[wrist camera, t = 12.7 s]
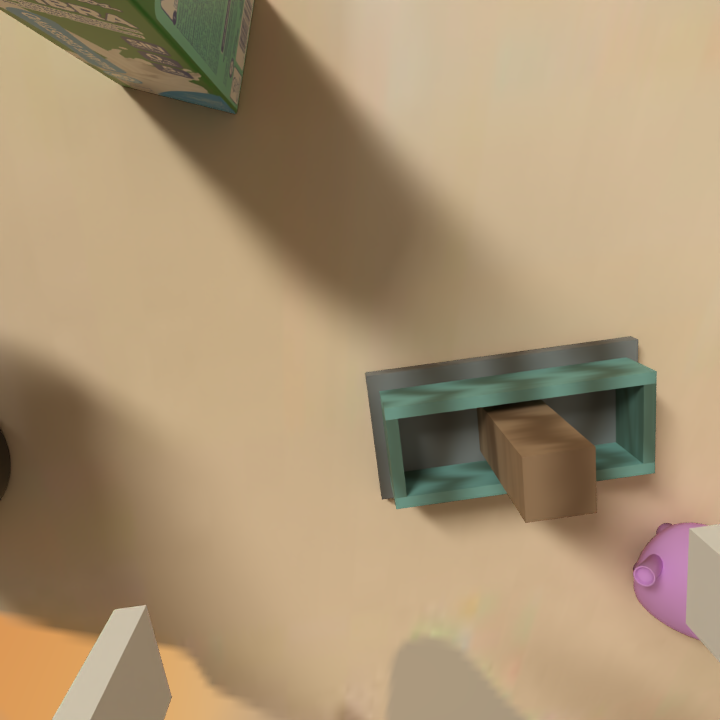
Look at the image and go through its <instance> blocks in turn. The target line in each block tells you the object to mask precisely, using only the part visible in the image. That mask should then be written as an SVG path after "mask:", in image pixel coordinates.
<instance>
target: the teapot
mask: <svg viewBox="0 0 720 720" xmlns="http://www.w3.org/2000/svg"><path fill="white" fill-rule="evenodd" d="M703 526H708V525H704V524H698V523H680V524H674V525H672V524H670V523H664V524H662V525H660V526H659V527H658V529H657V531H656V534H657V535H656V536H655V537H654V538H653V539H651V540H650V542H649V543H648V544H647V545H646V547H645V548H644V549H643V551H642V553H641V555H640V557H639V559H638V562H637V563H636V564H635V565H634V567H633V571H634V572H633V576H634V591H635V594H636V596H637V599H638V600H639V602H640V603H641V604H642V605H643V607H644V608H645V609H646V610H647V611H648V612H649V613H651V614H652V615H653V616H654V617H655V618H657V619H658V620H660V621H661V622H662V623H664V624H666V625H667V626H669V627H671V628H672V629H674V630H676V631H678V632H680V633H683V634H685V635H687V636H690V637H692V638H695V639H698V640H700V639H699V638H698V637H697V636H696V635H695V634H694V632H693V631H692V630H691V629H690V628H689V627H688V626H687V624H686V602H687V575H688V548H689V528H696V527H703ZM700 641H701V640H700Z"/></svg>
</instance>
